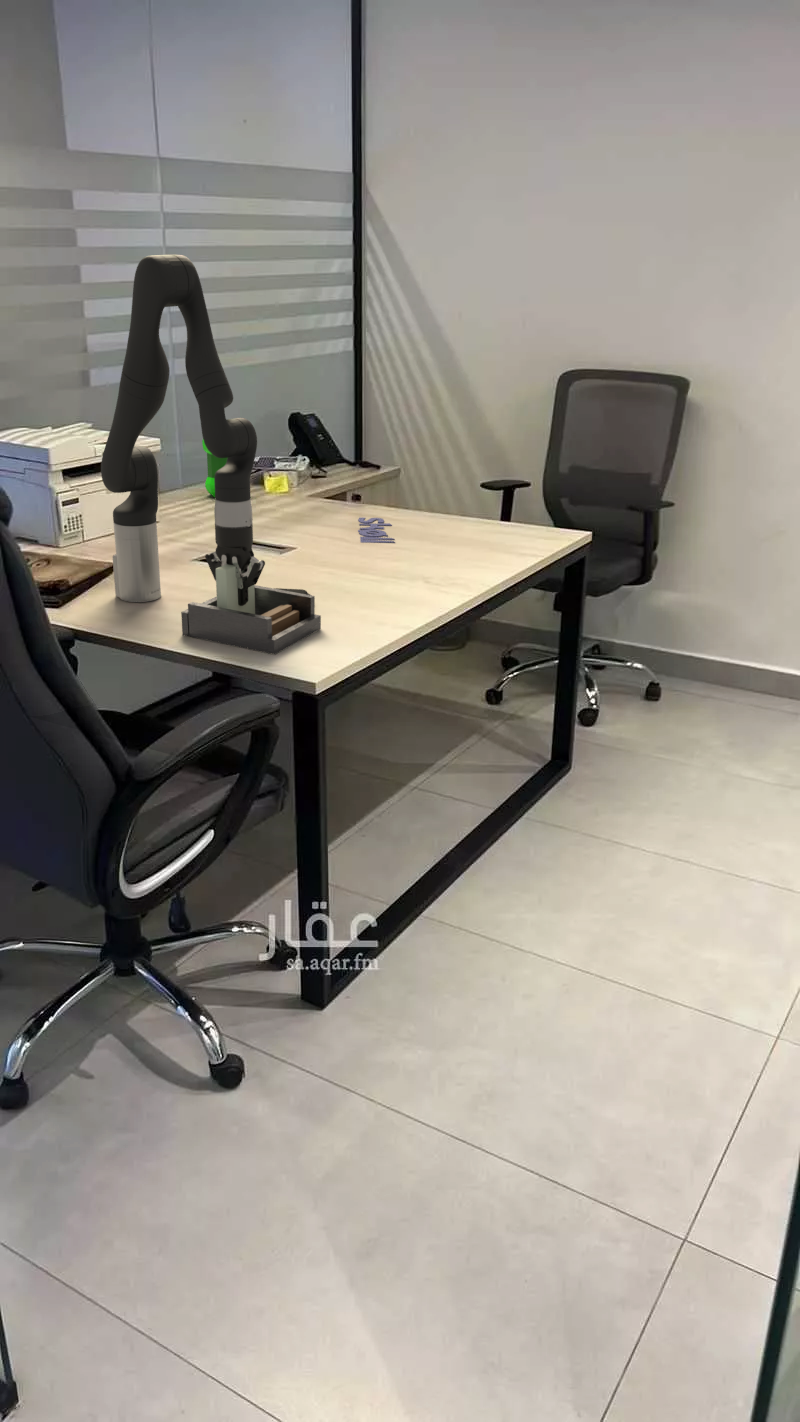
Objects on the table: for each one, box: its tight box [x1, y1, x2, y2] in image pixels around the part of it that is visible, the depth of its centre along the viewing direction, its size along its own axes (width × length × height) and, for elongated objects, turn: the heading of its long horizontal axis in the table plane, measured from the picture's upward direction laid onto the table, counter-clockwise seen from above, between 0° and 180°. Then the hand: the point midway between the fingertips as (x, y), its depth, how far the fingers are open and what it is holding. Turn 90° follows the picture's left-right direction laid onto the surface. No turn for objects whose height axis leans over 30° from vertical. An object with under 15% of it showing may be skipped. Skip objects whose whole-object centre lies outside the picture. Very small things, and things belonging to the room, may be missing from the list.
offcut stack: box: [262, 605, 299, 636], centre depth 219 cm, size 4×12×6 cm, turn 154°
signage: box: [357, 516, 396, 544], centre depth 305 cm, size 28×1×10 cm
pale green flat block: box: [215, 563, 255, 614], centre depth 221 cm, size 2×10×14 cm, turn 154°
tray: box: [180, 584, 322, 656], centre depth 221 cm, size 22×18×7 cm
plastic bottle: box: [202, 439, 228, 498], centre depth 335 cm, size 10×10×25 cm
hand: (236, 603), depth 221 cm, fingers closed on pale green flat block, 2 cm apart
